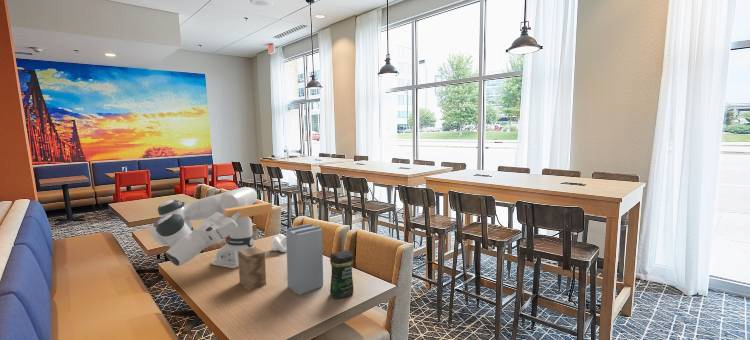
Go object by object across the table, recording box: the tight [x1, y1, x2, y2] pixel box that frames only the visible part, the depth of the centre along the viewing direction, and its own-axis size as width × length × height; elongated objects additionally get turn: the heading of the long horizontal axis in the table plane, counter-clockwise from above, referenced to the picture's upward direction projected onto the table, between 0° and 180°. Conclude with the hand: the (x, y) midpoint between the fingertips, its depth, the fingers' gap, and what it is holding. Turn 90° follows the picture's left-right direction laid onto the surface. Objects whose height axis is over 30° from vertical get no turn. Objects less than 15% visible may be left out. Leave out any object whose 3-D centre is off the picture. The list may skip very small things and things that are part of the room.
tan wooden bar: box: [223, 201, 273, 218], centre depth 152 cm, size 20×4×4 cm, turn 133°
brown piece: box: [238, 246, 267, 291], centre depth 156 cm, size 8×10×15 cm
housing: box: [285, 222, 324, 295], centre depth 153 cm, size 12×10×27 cm
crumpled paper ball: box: [271, 233, 287, 253], centre depth 200 cm, size 11×12×9 cm
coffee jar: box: [329, 249, 355, 299], centre depth 146 cm, size 10×8×19 cm
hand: (236, 211), depth 149 cm, fingers closed on tan wooden bar, 4 cm apart
